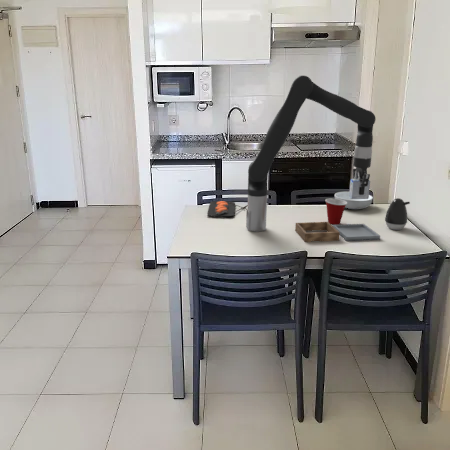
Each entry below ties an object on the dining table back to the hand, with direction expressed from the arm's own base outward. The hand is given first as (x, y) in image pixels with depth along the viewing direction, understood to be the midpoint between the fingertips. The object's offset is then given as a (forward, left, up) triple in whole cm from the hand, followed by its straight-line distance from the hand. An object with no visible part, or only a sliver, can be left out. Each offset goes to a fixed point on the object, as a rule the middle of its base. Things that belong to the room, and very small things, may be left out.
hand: (359, 193), depth 213 cm
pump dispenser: (+23, +6, -20) cm, 31 cm away
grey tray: (0, 0, -20) cm, 20 cm away
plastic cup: (-4, +17, -20) cm, 27 cm away
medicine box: (0, 0, -3) cm, 3 cm away
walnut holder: (-19, 0, -20) cm, 27 cm away
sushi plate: (-50, +45, -21) cm, 71 cm away
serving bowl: (+17, +45, -20) cm, 52 cm away
